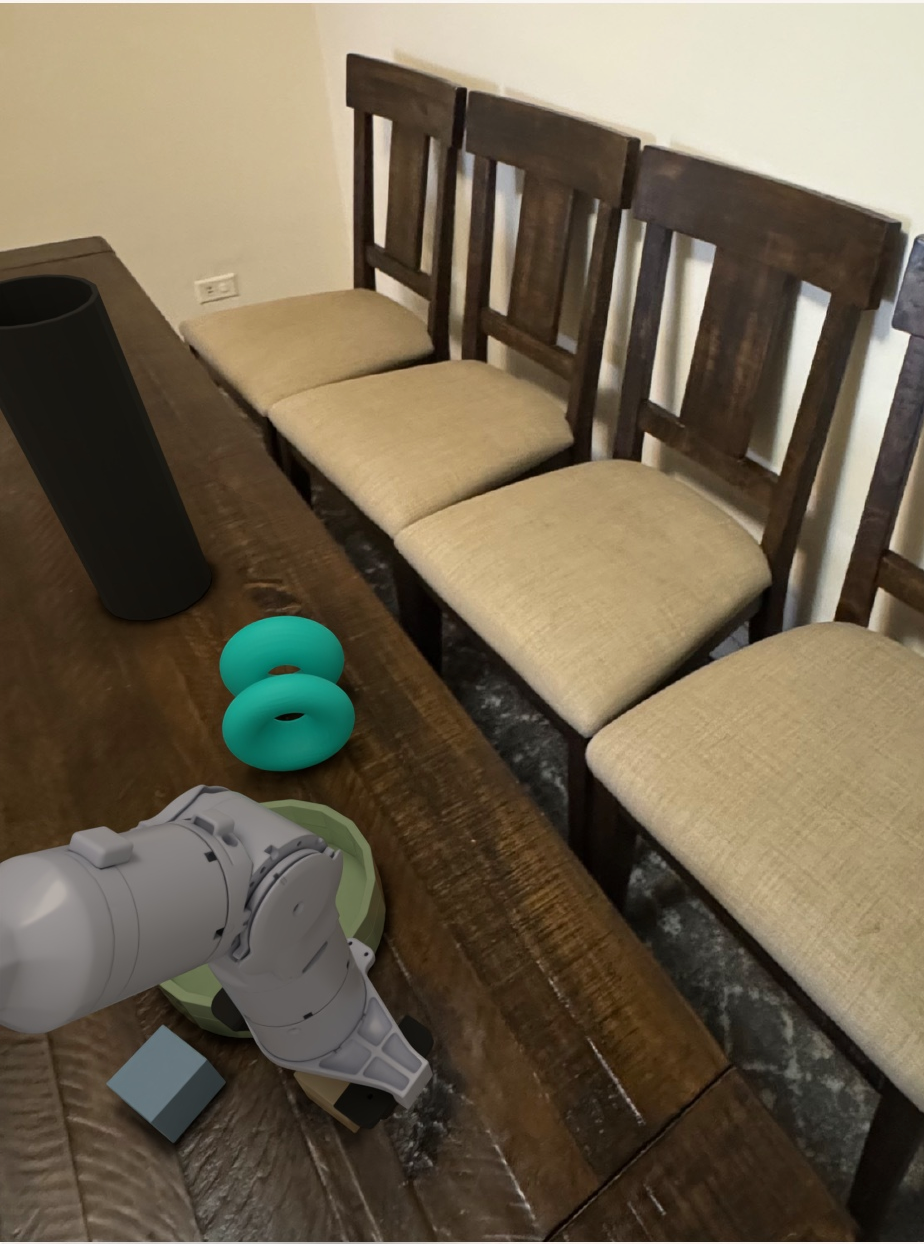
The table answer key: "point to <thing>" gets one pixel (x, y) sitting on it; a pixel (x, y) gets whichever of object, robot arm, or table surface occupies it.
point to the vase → (95, 447)
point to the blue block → (167, 1083)
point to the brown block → (325, 1094)
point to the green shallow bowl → (354, 903)
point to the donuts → (285, 694)
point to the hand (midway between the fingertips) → (344, 1066)
